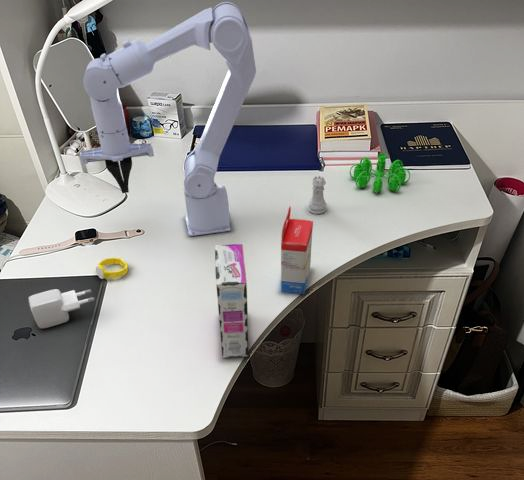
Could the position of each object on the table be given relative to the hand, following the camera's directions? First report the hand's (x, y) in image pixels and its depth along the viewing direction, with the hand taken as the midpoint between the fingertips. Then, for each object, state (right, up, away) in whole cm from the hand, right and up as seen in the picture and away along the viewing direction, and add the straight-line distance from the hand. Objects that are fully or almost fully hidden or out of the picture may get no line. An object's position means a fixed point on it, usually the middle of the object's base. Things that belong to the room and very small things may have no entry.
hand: (125, 190), depth 116 cm
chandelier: (+59, +8, +21) cm, 63 cm away
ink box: (+36, -21, -7) cm, 42 cm away
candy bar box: (+25, -32, -18) cm, 44 cm away
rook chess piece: (+43, -1, +12) cm, 44 cm away
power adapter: (-8, -28, -13) cm, 32 cm away
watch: (+1, -16, -3) cm, 16 cm away
